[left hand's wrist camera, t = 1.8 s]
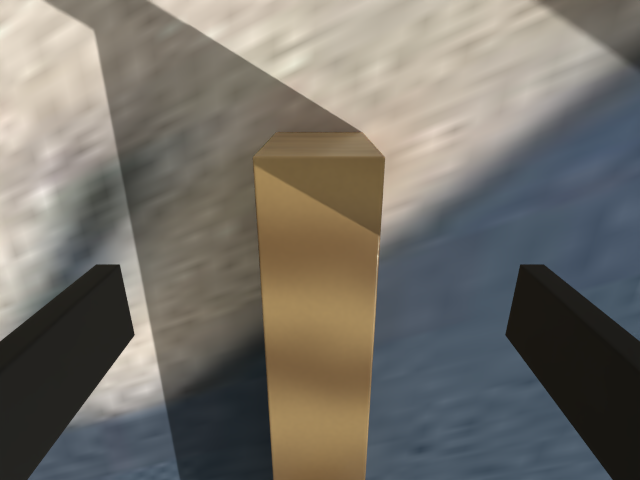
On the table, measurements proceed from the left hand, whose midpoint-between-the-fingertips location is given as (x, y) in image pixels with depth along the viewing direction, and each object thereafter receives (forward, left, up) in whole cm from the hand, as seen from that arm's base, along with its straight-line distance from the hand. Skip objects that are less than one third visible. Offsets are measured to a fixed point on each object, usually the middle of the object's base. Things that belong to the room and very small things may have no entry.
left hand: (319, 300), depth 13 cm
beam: (+8, +25, -12) cm, 29 cm away
